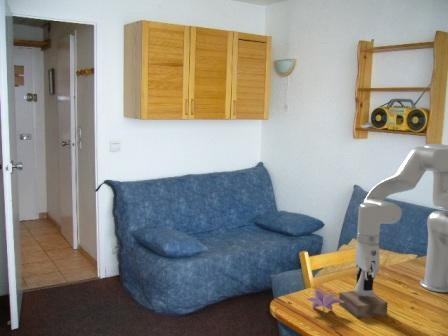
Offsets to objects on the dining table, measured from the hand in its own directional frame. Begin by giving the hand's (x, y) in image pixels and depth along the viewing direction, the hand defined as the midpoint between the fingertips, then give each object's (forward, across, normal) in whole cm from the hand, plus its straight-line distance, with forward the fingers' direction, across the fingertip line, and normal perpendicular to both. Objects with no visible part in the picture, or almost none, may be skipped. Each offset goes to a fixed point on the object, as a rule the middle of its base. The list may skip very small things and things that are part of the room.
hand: (364, 286), depth 168 cm
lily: (+9, -2, +16) cm, 18 cm away
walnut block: (+9, 0, 0) cm, 9 cm away
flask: (+2, 0, 0) cm, 2 cm away
